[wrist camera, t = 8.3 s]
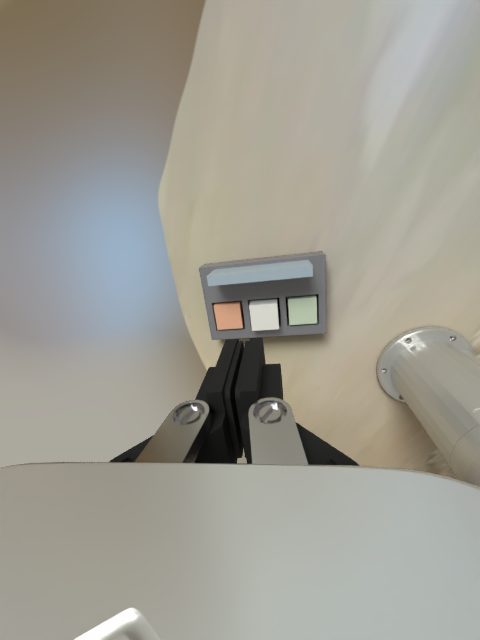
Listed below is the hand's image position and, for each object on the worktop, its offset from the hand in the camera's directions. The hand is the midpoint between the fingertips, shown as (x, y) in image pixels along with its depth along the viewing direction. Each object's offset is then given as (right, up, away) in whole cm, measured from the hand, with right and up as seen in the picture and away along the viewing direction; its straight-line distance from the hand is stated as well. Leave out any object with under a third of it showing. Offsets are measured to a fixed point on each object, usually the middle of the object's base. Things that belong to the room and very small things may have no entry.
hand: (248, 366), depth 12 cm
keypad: (+3, +6, +26) cm, 26 cm away
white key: (+3, +4, +25) cm, 25 cm away
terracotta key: (-2, +4, +27) cm, 27 cm away
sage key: (+8, +4, +25) cm, 27 cm away
